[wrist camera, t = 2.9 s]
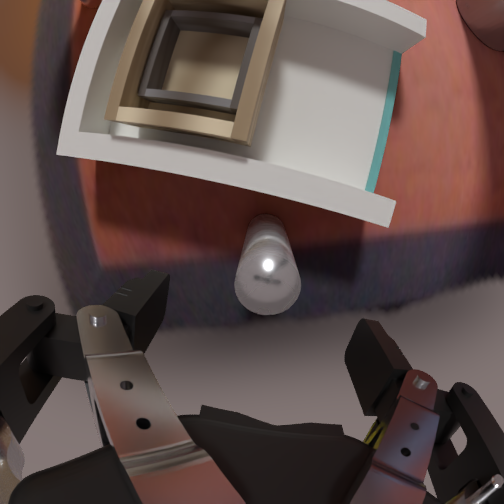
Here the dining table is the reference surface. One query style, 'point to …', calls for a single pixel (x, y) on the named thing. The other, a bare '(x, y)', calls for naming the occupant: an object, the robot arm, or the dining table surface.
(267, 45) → the box
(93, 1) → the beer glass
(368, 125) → the bay
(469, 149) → the dining table surface
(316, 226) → the dining table surface
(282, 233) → the handle peg
